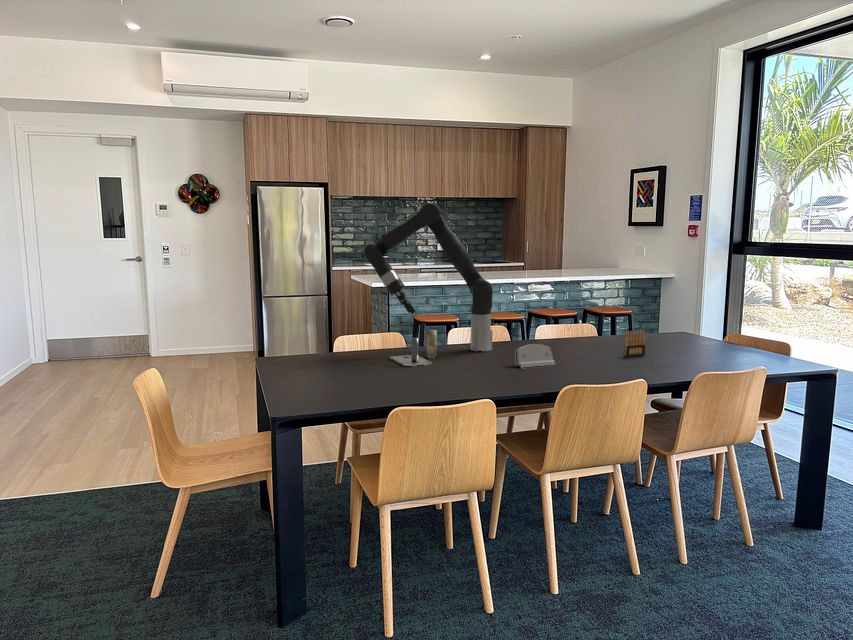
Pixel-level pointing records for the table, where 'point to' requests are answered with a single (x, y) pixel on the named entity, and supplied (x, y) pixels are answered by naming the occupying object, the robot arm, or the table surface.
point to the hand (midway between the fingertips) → (412, 312)
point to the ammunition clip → (634, 344)
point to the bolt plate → (408, 361)
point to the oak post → (431, 343)
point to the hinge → (533, 356)
